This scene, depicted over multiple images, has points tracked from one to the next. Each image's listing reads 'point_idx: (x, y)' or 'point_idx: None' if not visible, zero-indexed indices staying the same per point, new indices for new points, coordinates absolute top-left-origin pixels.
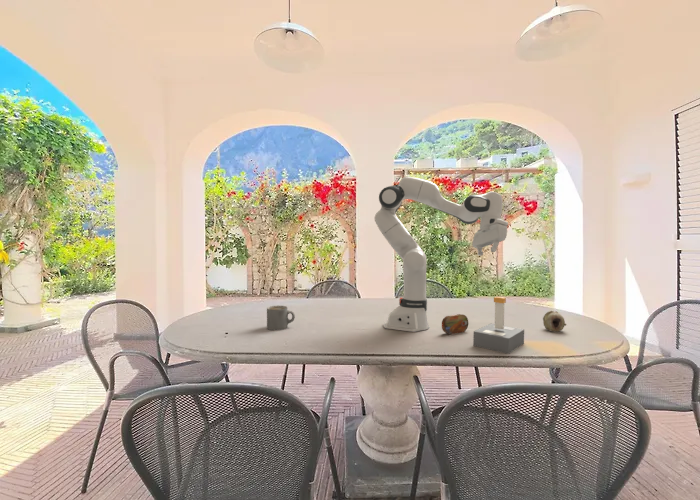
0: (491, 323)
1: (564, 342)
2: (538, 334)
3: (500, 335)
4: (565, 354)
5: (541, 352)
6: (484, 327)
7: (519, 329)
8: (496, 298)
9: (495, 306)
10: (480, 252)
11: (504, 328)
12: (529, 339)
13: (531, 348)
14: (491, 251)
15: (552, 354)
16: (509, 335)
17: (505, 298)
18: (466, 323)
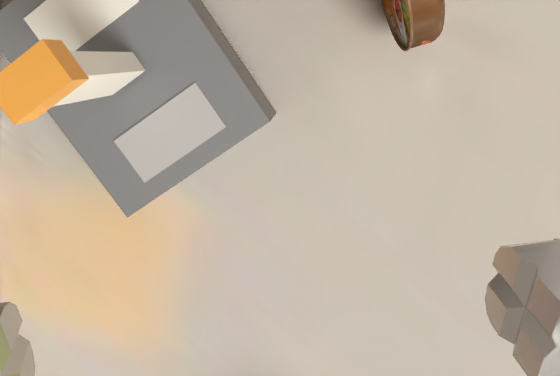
0: (266, 122)
1: (139, 370)
2: (263, 357)
3: (30, 13)
4: (3, 256)
5: (32, 183)
6: (191, 24)
7: (127, 191)
8: (29, 51)
9: (73, 53)
10: (532, 294)
11: (151, 123)
12: (200, 263)
13: (83, 180)
14: (17, 313)
15: (6, 208)
16: None
17: (11, 117)
18: (404, 36)
